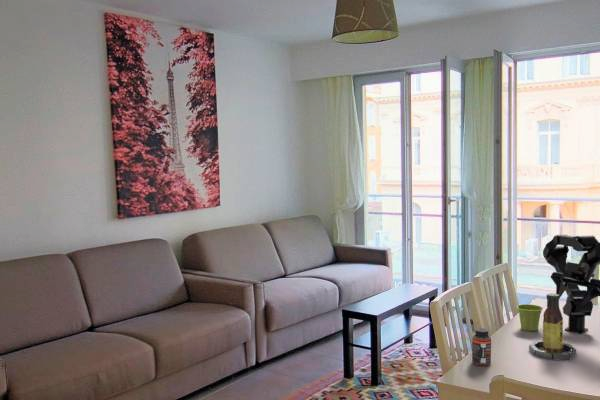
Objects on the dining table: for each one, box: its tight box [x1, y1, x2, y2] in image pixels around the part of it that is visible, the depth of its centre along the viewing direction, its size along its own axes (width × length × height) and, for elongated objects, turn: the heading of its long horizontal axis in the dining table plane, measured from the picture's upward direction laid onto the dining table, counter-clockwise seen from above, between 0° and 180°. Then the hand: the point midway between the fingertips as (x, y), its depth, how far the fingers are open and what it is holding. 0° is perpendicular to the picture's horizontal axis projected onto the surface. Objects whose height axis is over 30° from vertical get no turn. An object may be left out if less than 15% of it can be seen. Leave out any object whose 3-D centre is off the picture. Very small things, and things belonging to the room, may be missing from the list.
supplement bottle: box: [471, 327, 492, 367], centre depth 192 cm, size 6×6×11 cm
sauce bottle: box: [542, 293, 564, 353], centre depth 200 cm, size 7×6×20 cm
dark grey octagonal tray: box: [528, 339, 577, 361], centre depth 200 cm, size 14×14×2 cm
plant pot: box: [516, 303, 544, 332], centre depth 226 cm, size 9×9×9 cm
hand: (568, 302), depth 206 cm, fingers open, 9 cm apart
